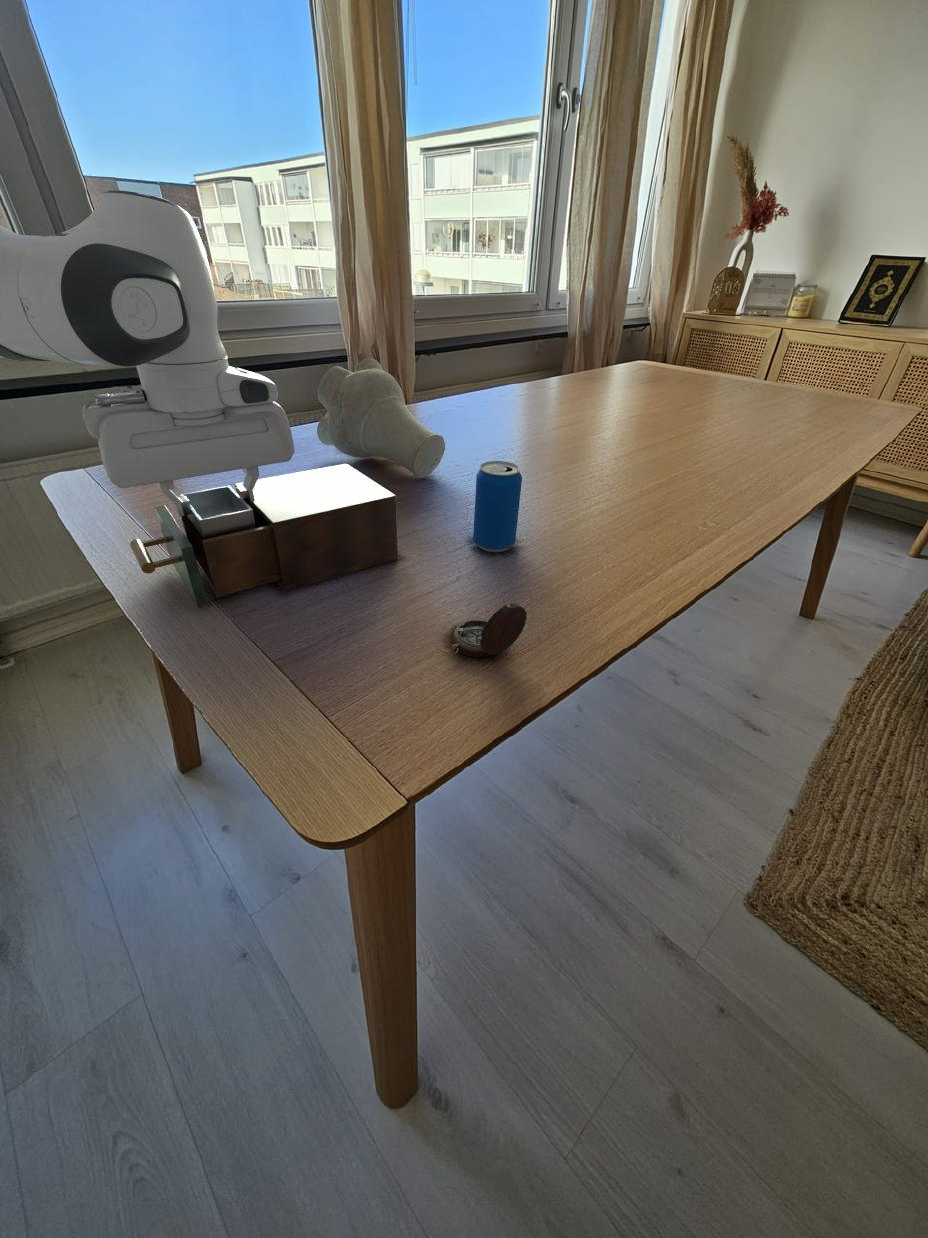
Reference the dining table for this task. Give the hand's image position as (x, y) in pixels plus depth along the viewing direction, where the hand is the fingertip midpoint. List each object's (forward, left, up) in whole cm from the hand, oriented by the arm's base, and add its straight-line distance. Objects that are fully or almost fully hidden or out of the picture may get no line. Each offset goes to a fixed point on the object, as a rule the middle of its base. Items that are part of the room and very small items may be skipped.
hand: (217, 507), depth 65 cm
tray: (0, 0, -2) cm, 2 cm away
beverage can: (+36, -11, -10) cm, 39 cm away
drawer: (0, 0, -9) cm, 9 cm away
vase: (+39, +27, -10) cm, 48 cm away
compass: (+18, -30, -10) cm, 36 cm away
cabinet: (+13, 0, -10) cm, 16 cm away
